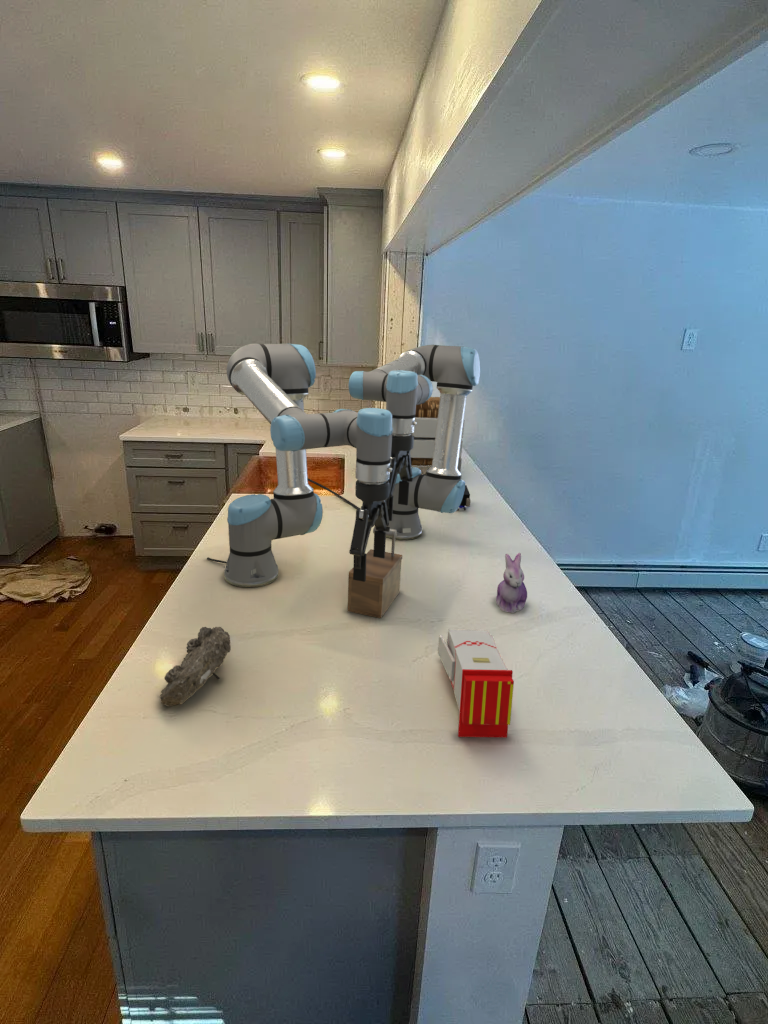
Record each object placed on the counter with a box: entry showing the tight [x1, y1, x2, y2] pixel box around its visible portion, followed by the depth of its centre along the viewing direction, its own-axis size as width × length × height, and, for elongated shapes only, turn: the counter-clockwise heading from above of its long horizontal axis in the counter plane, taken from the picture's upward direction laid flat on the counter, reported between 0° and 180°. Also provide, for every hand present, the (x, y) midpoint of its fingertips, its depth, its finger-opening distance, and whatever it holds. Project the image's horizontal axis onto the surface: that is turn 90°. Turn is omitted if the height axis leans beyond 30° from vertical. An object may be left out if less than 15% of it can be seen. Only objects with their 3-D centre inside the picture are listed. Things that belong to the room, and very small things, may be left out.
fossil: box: [159, 626, 232, 707], centre depth 118 cm, size 22×10×15 cm
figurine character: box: [457, 484, 471, 512], centre depth 229 cm, size 7×8×15 cm
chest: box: [347, 560, 402, 619], centre depth 152 cm, size 16×9×10 cm, turn 161°
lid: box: [348, 525, 403, 583], centre depth 149 cm, size 16×9×9 cm, turn 161°
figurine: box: [495, 552, 528, 614], centre depth 152 cm, size 9×10×15 cm
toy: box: [437, 628, 515, 738], centre depth 117 cm, size 12×13×30 cm
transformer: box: [410, 396, 465, 474], centre depth 268 cm, size 34×33×41 cm
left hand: (369, 568), depth 132 cm, fingers open, 13 cm apart
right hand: (395, 511), depth 152 cm, fingers open, 13 cm apart
